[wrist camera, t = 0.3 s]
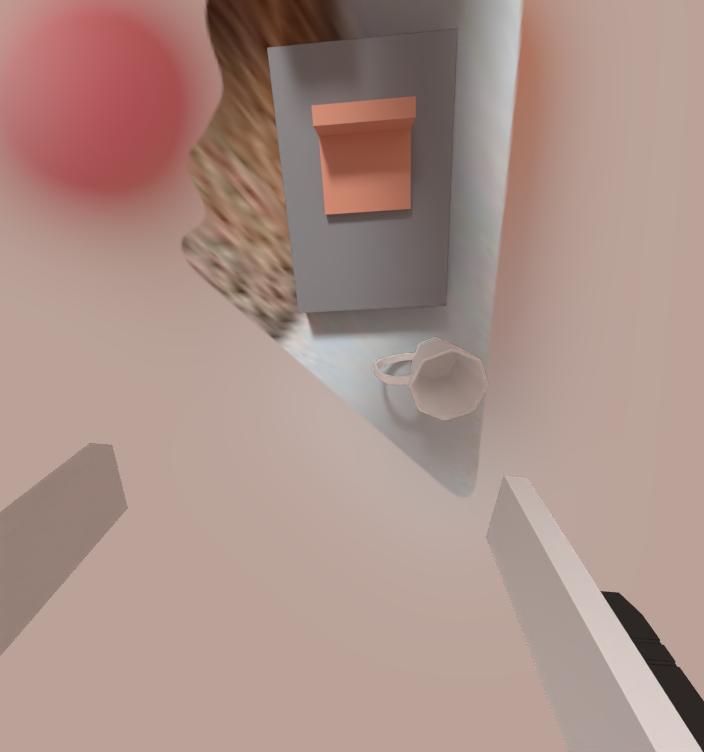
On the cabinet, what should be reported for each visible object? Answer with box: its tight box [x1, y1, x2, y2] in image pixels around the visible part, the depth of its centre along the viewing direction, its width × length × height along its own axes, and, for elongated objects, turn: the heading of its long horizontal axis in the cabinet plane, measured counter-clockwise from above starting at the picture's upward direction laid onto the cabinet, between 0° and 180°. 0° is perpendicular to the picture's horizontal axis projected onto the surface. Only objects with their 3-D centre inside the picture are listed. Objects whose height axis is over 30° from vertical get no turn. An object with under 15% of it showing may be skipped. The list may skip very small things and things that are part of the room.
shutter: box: [311, 96, 416, 215], centre depth 27 cm, size 7×7×4 cm
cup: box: [374, 337, 489, 421], centre depth 34 cm, size 7×10×8 cm
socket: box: [267, 29, 457, 313], centre depth 31 cm, size 20×14×3 cm
